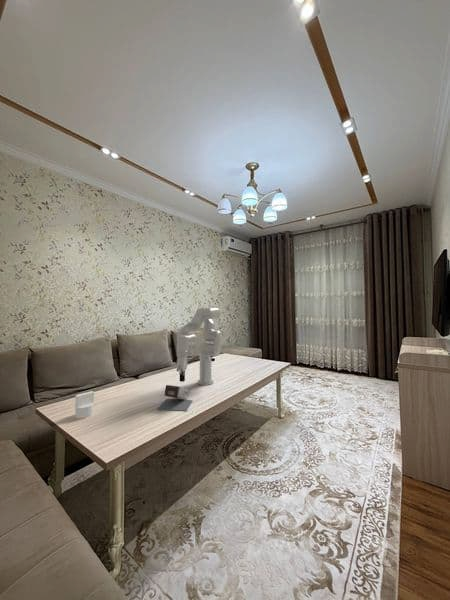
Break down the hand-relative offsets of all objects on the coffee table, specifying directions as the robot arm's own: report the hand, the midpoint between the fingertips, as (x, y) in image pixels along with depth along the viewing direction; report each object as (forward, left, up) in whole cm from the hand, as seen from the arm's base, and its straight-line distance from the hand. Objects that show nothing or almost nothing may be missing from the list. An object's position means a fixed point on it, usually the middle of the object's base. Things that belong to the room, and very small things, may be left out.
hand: (182, 381), depth 165 cm
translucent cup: (+31, -48, -12) cm, 58 cm away
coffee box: (0, 0, -9) cm, 9 cm away
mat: (+12, -1, -11) cm, 16 cm away
